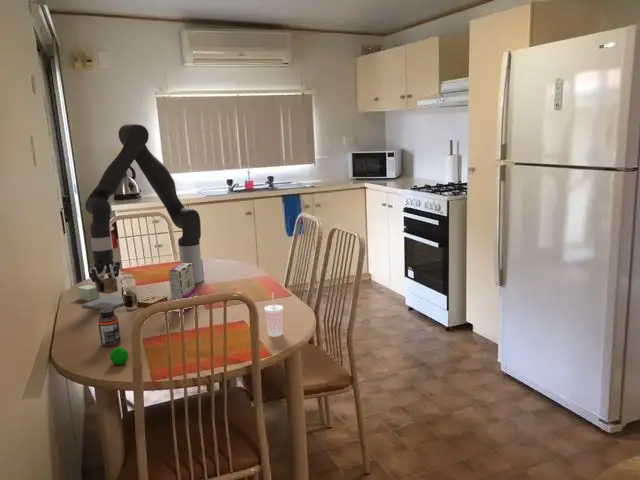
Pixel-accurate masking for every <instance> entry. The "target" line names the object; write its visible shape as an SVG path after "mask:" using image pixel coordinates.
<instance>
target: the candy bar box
mask: <svg viewBox="0 0 640 480" xmlns="http://www.w3.org/2000/svg"><path fill="white" fill-rule="evenodd" d="M168 277H169V287H170V295H171V297H170V298H171V301H172V300H176V299H182V298H189V297H194V296H196V297H197V293H196V284H195V283H194V273H193V263H181V264H180V263H179V264H177V265H175V266H174V267H172V268H171V269H169V270H168ZM190 309H191V308H188V309H184V312H183V313H186V312H187V311H189V310H190ZM172 312H173V313H180V312H179V311H178V312H177V311H173V310H172Z"/></svg>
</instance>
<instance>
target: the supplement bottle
mask: <svg viewBox="0 0 640 480" xmlns="http://www.w3.org/2000/svg"><path fill="white" fill-rule="evenodd" d="M114 309H115V308H114ZM114 309H112V308H107V309H103V310H99V315H100V316H99V317H98V318H97V323H98V324H97V325H98V331H99V338H100V339H99V340H100V344H101V346H103V347H114V346H117V345H119V344H120V343H121V342H122V339H121V331H120V324H119V317H118V315H117V314H115V310H114Z"/></svg>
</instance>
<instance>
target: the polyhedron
mask: <svg viewBox="0 0 640 480" xmlns="http://www.w3.org/2000/svg"><path fill="white" fill-rule="evenodd" d="M109 358H110V359H109V360H110V361H111V362H112V364H115V365H117V366H121V365H124V364H125V363H126V362H127V361H128V360H129V359H128V358H129V353H128V350H127V349H126V348H124V347H115V348H114V349H112V351H111V352H110V355H109Z"/></svg>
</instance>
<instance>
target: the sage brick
mask: <svg viewBox="0 0 640 480" xmlns="http://www.w3.org/2000/svg"><path fill="white" fill-rule="evenodd" d="M77 294H78V299H79V300H81V299H82V300H81V301H87V302H90V301H93V300H96V299H99V298H100V293H99V292H96V285H91V284H89V285H88V284H86V285H82V286H79V287H77Z"/></svg>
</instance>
